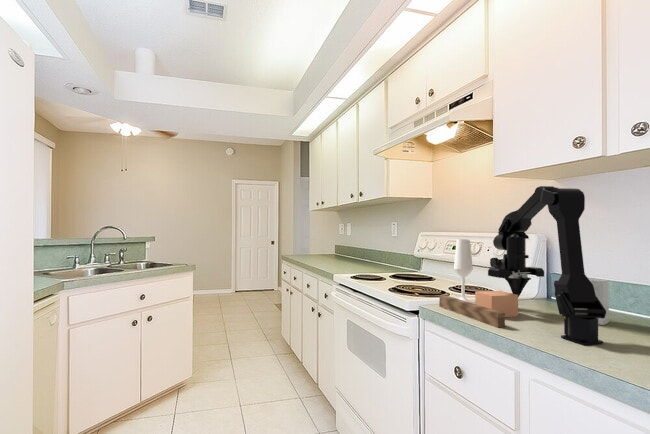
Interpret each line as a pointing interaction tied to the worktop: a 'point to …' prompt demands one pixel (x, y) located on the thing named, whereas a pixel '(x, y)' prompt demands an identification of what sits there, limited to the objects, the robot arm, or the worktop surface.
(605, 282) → the small box
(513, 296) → the brick
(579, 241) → the robot arm
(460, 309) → the plank
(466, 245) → the champagne flute
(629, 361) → the worktop surface
